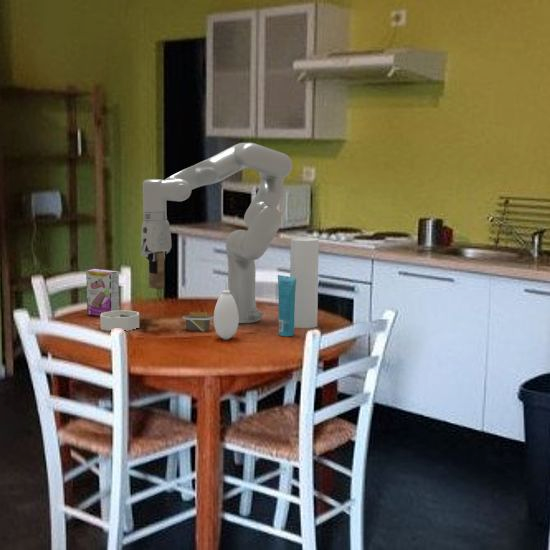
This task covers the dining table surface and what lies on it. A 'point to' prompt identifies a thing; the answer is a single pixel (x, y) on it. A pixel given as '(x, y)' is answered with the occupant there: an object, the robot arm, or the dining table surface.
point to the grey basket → (198, 321)
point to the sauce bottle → (226, 315)
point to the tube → (286, 304)
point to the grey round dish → (119, 320)
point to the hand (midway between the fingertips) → (156, 272)
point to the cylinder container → (305, 280)
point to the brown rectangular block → (158, 273)
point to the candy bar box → (102, 291)
